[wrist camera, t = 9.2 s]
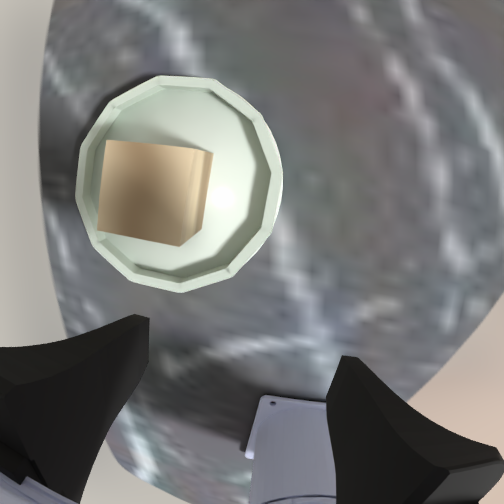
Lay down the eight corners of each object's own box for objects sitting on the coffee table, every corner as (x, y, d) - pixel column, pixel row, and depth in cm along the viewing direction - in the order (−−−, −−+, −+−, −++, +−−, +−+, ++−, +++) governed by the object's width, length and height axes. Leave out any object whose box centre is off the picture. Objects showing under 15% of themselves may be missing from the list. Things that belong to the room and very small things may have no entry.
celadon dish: (300, 96, 17) (302, 88, 15) (260, 300, 20) (259, 312, 19) (105, 79, 17) (92, 73, 16) (83, 261, 21) (70, 268, 19)
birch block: (213, 153, 18) (193, 148, 13) (201, 228, 19) (179, 246, 14) (142, 144, 18) (106, 139, 13) (133, 216, 19) (96, 230, 15)
